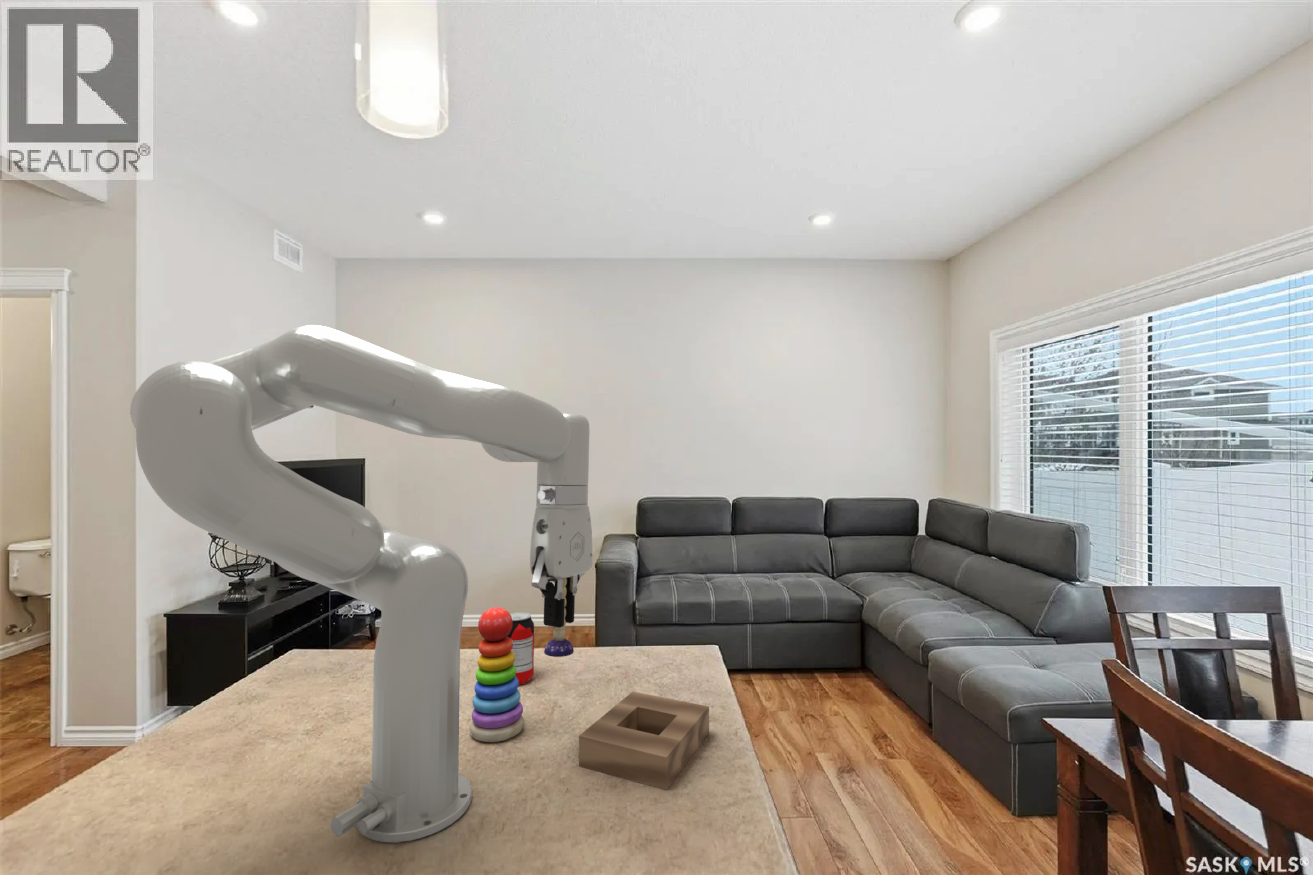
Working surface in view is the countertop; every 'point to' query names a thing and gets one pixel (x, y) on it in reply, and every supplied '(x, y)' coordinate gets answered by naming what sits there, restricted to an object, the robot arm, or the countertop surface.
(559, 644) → the toy lamp
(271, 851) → the countertop surface
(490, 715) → the stacking toy
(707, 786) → the countertop surface
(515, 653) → the beverage can
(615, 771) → the brown flat frame block
